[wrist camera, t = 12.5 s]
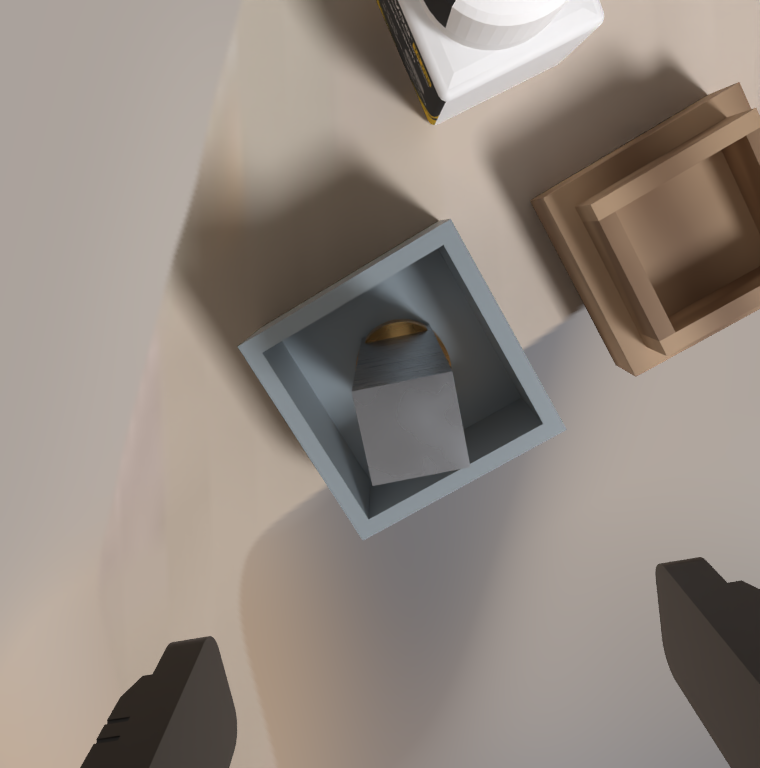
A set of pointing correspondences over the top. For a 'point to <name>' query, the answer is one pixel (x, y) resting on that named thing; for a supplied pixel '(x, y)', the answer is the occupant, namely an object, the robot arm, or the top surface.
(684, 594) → the robot arm
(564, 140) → the top surface
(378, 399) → the strut
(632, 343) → the socket block
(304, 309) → the bin
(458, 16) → the medicine bottle
